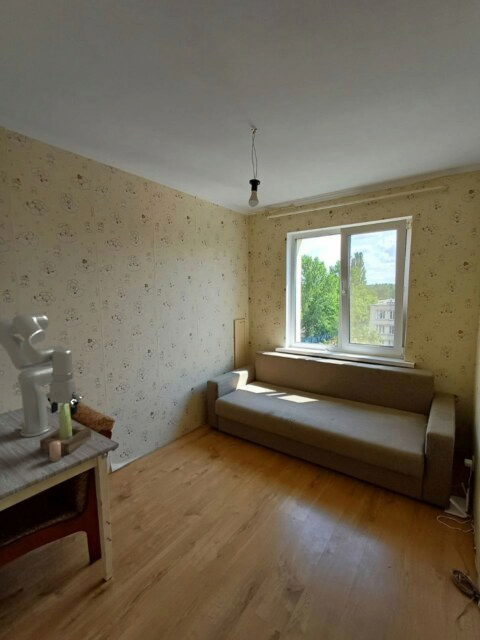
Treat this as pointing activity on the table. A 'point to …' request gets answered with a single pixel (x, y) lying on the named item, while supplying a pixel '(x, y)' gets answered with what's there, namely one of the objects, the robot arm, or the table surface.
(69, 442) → the square wooden frame
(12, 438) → the table surface
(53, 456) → the short stub
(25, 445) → the table surface
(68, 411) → the tube
